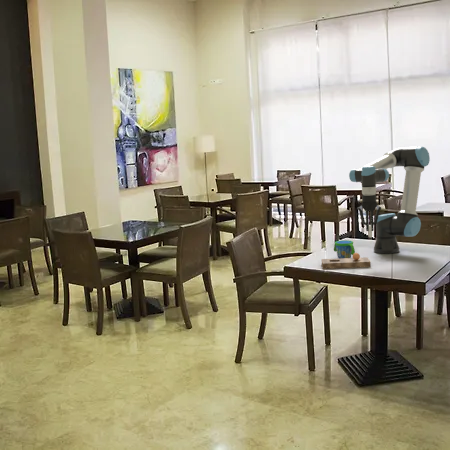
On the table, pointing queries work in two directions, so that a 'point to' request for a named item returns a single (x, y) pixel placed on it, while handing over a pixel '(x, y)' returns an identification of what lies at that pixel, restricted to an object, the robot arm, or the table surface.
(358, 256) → the ball
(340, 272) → the table surface
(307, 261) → the table surface
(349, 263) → the light wood flat slab
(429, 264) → the table surface
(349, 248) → the snack cup
